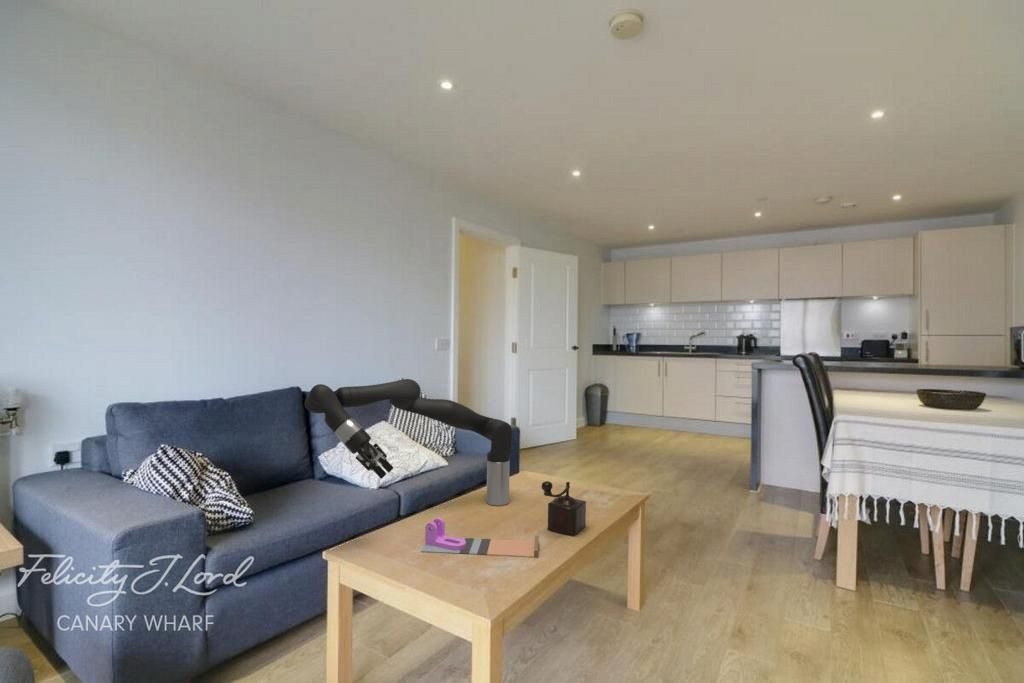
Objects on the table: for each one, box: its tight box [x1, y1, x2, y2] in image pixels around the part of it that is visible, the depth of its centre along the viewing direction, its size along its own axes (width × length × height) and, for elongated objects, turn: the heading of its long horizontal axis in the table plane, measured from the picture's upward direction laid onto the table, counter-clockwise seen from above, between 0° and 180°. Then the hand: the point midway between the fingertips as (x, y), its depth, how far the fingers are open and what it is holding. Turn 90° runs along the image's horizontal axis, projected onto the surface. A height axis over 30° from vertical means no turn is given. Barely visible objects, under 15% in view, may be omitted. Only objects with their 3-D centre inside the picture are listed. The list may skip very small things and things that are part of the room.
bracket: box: [424, 516, 466, 551], centre depth 152 cm, size 13×6×7 cm, turn 65°
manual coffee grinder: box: [540, 480, 587, 537], centre depth 165 cm, size 16×11×18 cm
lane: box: [420, 535, 540, 558], centre depth 152 cm, size 11×36×2 cm, turn 86°
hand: (387, 473), depth 153 cm, fingers open, 6 cm apart
